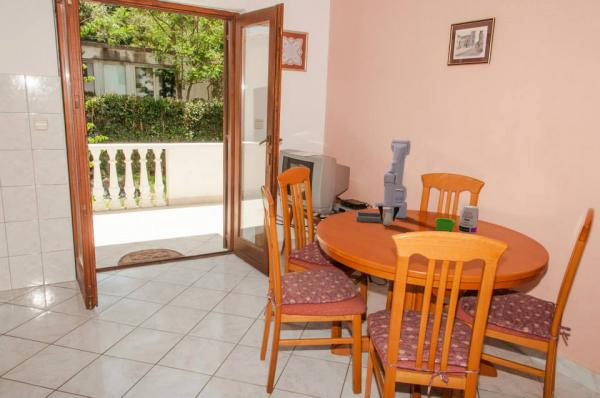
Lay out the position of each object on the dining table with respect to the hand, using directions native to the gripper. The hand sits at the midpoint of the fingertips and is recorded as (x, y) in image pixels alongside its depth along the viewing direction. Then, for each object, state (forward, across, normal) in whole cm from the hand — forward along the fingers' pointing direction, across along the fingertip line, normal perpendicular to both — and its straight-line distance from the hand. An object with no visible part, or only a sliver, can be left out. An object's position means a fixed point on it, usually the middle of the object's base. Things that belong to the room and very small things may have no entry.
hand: (387, 220), depth 226 cm
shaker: (+2, 0, 0) cm, 2 cm away
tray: (+2, -9, +9) cm, 13 cm away
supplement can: (+2, +37, -15) cm, 40 cm away
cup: (+2, +22, -30) cm, 37 cm away
